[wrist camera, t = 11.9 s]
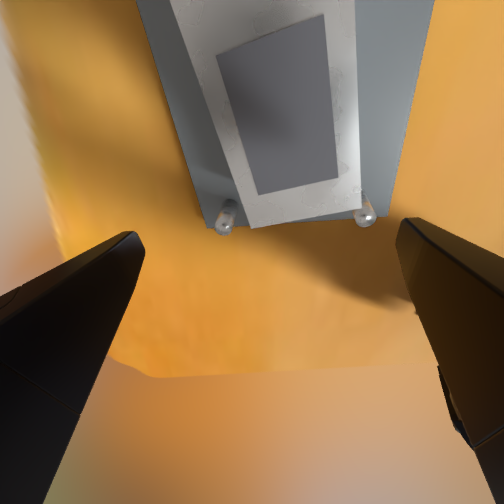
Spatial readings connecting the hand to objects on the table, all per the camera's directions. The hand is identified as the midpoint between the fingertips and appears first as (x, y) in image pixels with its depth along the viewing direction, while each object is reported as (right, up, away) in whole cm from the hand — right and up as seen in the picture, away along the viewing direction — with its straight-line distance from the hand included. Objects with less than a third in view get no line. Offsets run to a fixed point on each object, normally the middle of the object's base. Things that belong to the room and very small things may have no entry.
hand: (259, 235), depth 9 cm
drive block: (+2, +8, +6) cm, 10 cm away
